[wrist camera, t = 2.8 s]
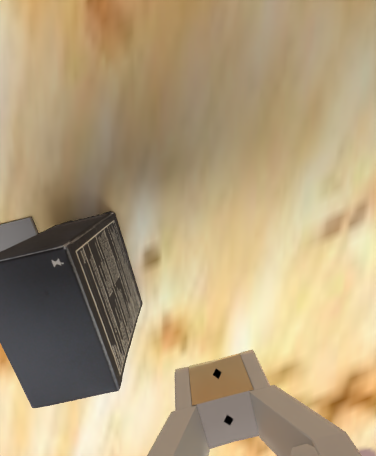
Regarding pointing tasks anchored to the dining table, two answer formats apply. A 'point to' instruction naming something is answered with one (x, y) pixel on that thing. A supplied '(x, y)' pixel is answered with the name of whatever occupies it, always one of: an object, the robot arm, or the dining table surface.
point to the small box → (68, 310)
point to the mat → (16, 232)
